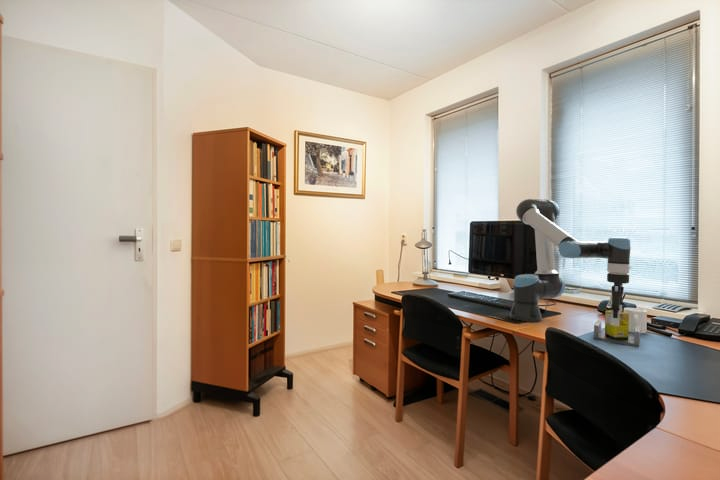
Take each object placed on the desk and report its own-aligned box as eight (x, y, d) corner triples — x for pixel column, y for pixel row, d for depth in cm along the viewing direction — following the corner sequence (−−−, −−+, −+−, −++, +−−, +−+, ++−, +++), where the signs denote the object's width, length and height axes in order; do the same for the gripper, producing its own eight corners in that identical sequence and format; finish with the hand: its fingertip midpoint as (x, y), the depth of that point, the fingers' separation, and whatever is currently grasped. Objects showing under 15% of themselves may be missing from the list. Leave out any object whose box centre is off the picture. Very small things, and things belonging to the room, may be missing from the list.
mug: (647, 337, 147) (648, 314, 147) (623, 333, 152) (624, 311, 152) (645, 331, 157) (646, 309, 156) (623, 327, 162) (623, 306, 161)
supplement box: (628, 339, 141) (629, 313, 141) (614, 339, 141) (615, 313, 141) (618, 335, 147) (618, 310, 146) (604, 334, 147) (604, 310, 147)
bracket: (593, 338, 144) (594, 325, 144) (597, 332, 153) (597, 319, 153) (638, 346, 134) (639, 332, 134) (639, 339, 143) (640, 326, 143)
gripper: (627, 277, 131) (625, 330, 132) (630, 271, 150) (629, 318, 151) (604, 275, 136) (602, 326, 137) (610, 270, 155) (608, 315, 156)
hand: (616, 322), depth 144 cm, fingers open, 13 cm apart
